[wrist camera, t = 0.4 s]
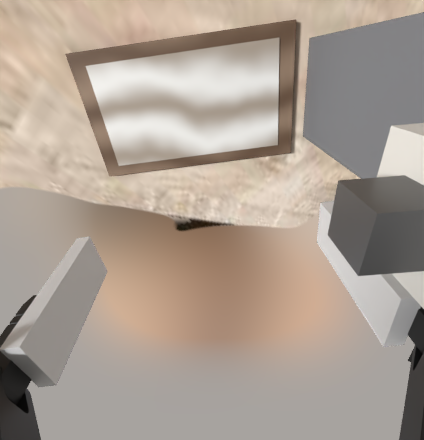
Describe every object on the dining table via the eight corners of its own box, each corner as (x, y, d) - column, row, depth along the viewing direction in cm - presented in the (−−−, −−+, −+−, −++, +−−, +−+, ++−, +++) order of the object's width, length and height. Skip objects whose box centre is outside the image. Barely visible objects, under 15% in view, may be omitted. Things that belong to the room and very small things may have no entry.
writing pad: (68, 54, 31) (64, 54, 31) (294, 20, 30) (296, 19, 30) (111, 174, 40) (109, 176, 39) (289, 151, 39) (290, 153, 38)
